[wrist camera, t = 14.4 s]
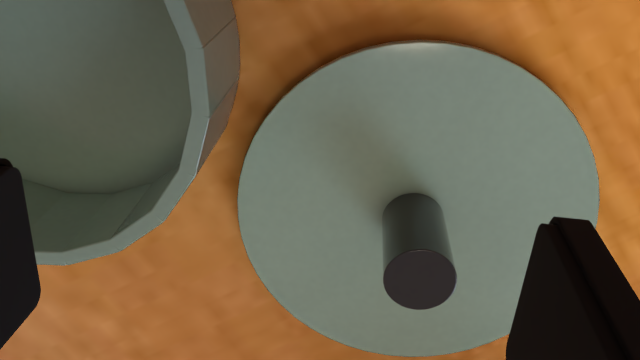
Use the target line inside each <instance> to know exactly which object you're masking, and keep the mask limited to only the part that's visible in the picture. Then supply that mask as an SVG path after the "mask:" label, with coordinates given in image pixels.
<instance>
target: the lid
mask: <svg viewBox="0 0 640 360" xmlns="http://www.w3.org/2000/svg"><path fill="white" fill-rule="evenodd" d="M599 201H600V199H599V178H598V173H597V168H596V163H595V159H594V155H593V153H592V150H591V147H590V145H589V142H588V139H587V137H586V135H585V133H584V131H583V130H582V128H581V126H580V124H579V123H578V121H577V119H576V117H575V116H574V115H573V113H572V112H571V111H570V110H569V108H568V107H567V106H566V105H565V103H564V102H563V101H562V100H561V99H560V97H559V96H558V95H557V94H556V93H555V92H554V91H553V90H551V89H550V88H549V87H548V86H547V85H546V84H545V83H544V82H543V81H542V80H540V79H539V78H538V77H536V76H535V75H533V74H532V73H530V72H529V71H528V70H526V69H525V68H523V67H522V66H520V65H518V64H516V63H514V62H512V61H510V60H508V59H506V58H504V57H502V56H500V55H498V54H496V53H493V52H490V51H486V50H483V49H480V48H477V47H474V46H471V45H465V44H460V43H454V42H449V41H438V40H408V41H396V42H389V43H384V44H379V45H375V46H370V47H366V48H363V49H360V50H357V51H355V52H352V53H349V54H346V55H343V56H341V57H339V58H337V59H335V60H333V61H331V62H329V63H327V64H325V65H323V66H321V67H319V68H318V69H316V70H315V71H314V72H312V73H311V74H309V75H308V76H306V77H305V78H303V79H302V80H300V81H299V82H298V83H297V84H296V85H295V86H294V87H292V88H291V89H290V90H289V91H288V92H287V93H286V94H285V95H284V96H283V97H281V99H280V100H279V101H278V102H277V103H276V105H275V106H274V107H273V108H272V110H271V111H270V112H269V113H268V114H267V116H266V117H265V119H264V121H263V122H262V124H261V125H260V127H259V129H258V130H257V132H256V134H255V135H254V137H253V140H252V142H251V144H250V147H249V149H248V151H247V154H246V156H245V159H244V163H243V167H242V170H241V174H240V179H239V187H238V196H237V203H238V220H239V226H240V231H241V237H242V240H243V243H244V246H245V249H246V252H247V255H248V257H249V259H250V261H251V263H252V265H253V267H254V269H255V271H256V273H257V275H258V276H259V278H260V279H261V281H262V282H263V284H264V285H265V287H266V288H267V290H268V291H269V292H270V293H271V294H272V295H273V296H274V298H275V299H276V300H277V301H278V302H279V303H280V304H281V305H282V306H283V307H284V308H285V309H286V310H287V311H289V312H290V313H291V314H292V315H293V316H294V317H295V318H297V319H298V320H300V321H301V322H303V323H304V324H305V325H307V326H308V327H310V328H311V329H313V330H315V331H317V332H318V333H320V334H322V335H324V336H326V337H328V338H330V339H332V340H335V341H337V342H339V343H342V344H344V345H347V346H350V347H353V348H357V349H360V350H364V351H367V352H373V353H378V354H384V355H391V356H404V357H424V356H436V355H444V354H451V353H456V352H460V351H465V350H469V349H472V348H475V347H478V346H481V345H484V344H487V343H490V342H492V341H495V340H497V339H499V338H501V337H503V336H505V335H508V334H510V330H511V327H512V323H513V319H514V315H515V311H516V308H517V304H518V300H519V296H520V293H521V289H522V285H523V281H524V278H525V274H526V270H527V266H528V262H529V259H530V255H531V251H532V247H533V244H534V240H535V236H536V232H537V229H538V227H539V225H540V224H541V223H543V224H549V222H550V221H551V219H552V218H553V217H554V216H555V217H564V218H574V219H583V220H589V221H590V222H591V223H592V225H593V226H594V228H596V224H597V218H598V210H599Z"/></svg>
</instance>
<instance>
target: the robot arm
mask: <svg viewBox="0 0 640 360" xmlns="http://www.w3.org/2000/svg"><path fill="white" fill-rule="evenodd" d="M40 292H41V288H40V281H39V275H38V270H37V264H36V258H35V252H34V246H33V240H32V234H31V228H30V223H29V217H28V211H27V205H26V199H25V193H24V187H23V181H22V176H21V173H20V171H19V169H17V168H16V167H13V165H12V164H11V162H10V161H9V160H8V159H5V158H0V349H1V348H2V347H3V345H4V344H5V343H6V342H7V341H8V340H9V338H10V337H11V336H12V335H13V334H14V332H15V331H16V330H17V329H18V328H19V326H20V325H21V324H22V323H23V322H24V321H25V319H26V318H27V317H28V316H29V315H30V313H31V312H32V311H33V310H34V309H35V307H36V306H37V304H38V301H39V298H40ZM506 360H640V300H639V299H638V297H637V295H636V294H635V292H634V291H633V289H632V287H631V286H630V284H629V283H628V281H627V279H626V278H625V276H624V275H623V273H622V271H621V270H620V268H619V267H618V265H617V263H616V262H615V260H614V258H613V257H612V255H611V254H610V252H609V250H608V249H607V247H606V246H605V244H604V242H603V241H602V239H601V238H600V236H599V234H598V233H597V231H596V230H595V228H594V226H593V225H592V223H591V222H590V221H589V220H583V219H574V218H564V217H555V216H554V217H553V218H552V219H551V221H550V222H549V224H543V223H541V224H540V225H539V227H538V229H537V232H536V236H535V240H534V244H533V247H532V251H531V255H530V259H529V262H528V266H527V270H526V274H525V278H524V281H523V285H522V289H521V293H520V296H519V300H518V304H517V308H516V311H515V315H514V319H513V323H512V327H511V330H510V334H509V338H508V342H507V347H506Z"/></svg>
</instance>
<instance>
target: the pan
mask: <svg viewBox="0 0 640 360" xmlns="http://www.w3.org/2000/svg"><path fill="white" fill-rule="evenodd" d="M239 70H240V42H239V34H238V28H237V22H236V16H235V12H234V9H233V5H232V2H231V0H0V158H5V159H8V160H9V161H10V162H11V164H12V165H13V167H16V168H17V169H19V171H20V173H21V176H22V181H23V187H24V193H25V199H26V205H27V211H28V217H29V223H30V228H31V234H32V240H33V246H34V252H35V258H36V264H41V265H71V264H74V263H78V262H82V261H86V260H90V259H94V258H97V257H101V256H105V255H109V254H113V253H117V252H119V251H122V250H123V249H125V248H126V247H128V246H129V245H131V244H132V243H134V242H135V241H137V240H138V239H140V238H141V237H142V236H144V235H145V234H147V233H148V232H150V231H151V230H153V229H154V228H156V227H157V226H159V225H160V224H162V223H163V222H164V221H165V220H166V219H167V217H168V216H169V214H170V213H171V211H172V210H173V208H174V207H175V206H176V204H177V203H178V201H179V200H180V198H181V197H182V195H183V194H184V193H185V191H186V190H187V188H188V187H189V185H190V184H191V182H192V181H193V180H194V178H195V177H196V175H197V173H198V172H199V170H200V169H201V167H202V165H203V164H204V162H205V161H206V159H207V157H208V156H209V154H210V153H211V151H212V149H213V148H214V146H215V145H216V143H217V141H218V140H219V138H220V137H221V135H222V133H223V132H224V130H225V128H226V127H227V123H228V119H229V115H230V113H231V110H232V108H233V104H234V100H235V96H236V92H237V88H238V81H239Z"/></svg>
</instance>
